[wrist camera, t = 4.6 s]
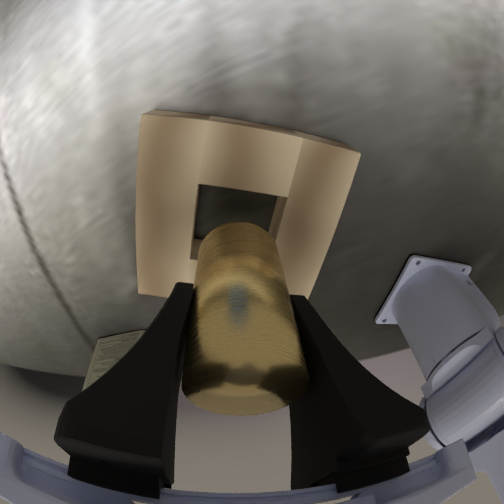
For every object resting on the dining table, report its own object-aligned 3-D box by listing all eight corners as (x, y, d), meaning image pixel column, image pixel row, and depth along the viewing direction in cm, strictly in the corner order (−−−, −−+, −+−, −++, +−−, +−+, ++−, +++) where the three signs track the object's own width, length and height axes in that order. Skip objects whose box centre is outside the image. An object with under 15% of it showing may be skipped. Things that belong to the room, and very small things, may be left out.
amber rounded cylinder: (290, 233, 13) (332, 360, 7) (263, 294, 15) (280, 417, 9) (208, 213, 12) (191, 343, 6) (191, 280, 14) (175, 407, 8)
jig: (345, 143, 17) (361, 153, 15) (296, 289, 23) (302, 311, 21) (153, 109, 15) (141, 114, 13) (145, 271, 21) (138, 293, 19)
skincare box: (119, 361, 28) (98, 461, 17) (97, 336, 25) (65, 443, 15) (169, 354, 27) (156, 468, 17) (147, 327, 25) (123, 452, 14)
